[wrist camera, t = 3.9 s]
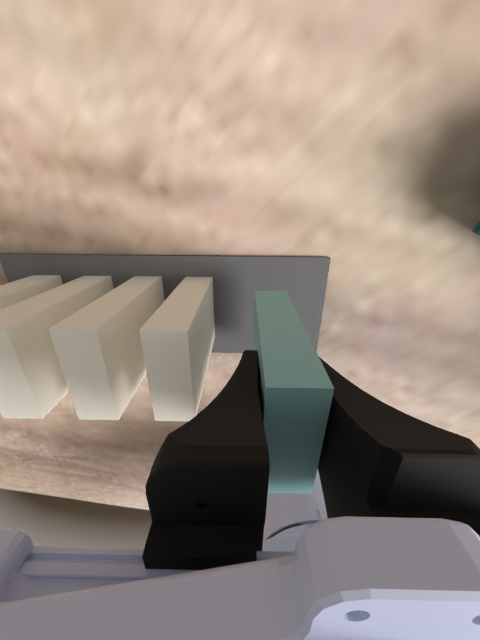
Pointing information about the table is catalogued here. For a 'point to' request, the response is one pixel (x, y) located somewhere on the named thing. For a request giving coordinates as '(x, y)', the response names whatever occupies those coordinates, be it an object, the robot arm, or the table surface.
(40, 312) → the tile
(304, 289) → the mat
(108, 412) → the tile
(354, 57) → the table surface
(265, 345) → the tile
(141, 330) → the tile
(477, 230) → the bracket
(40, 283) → the tile
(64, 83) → the table surface
